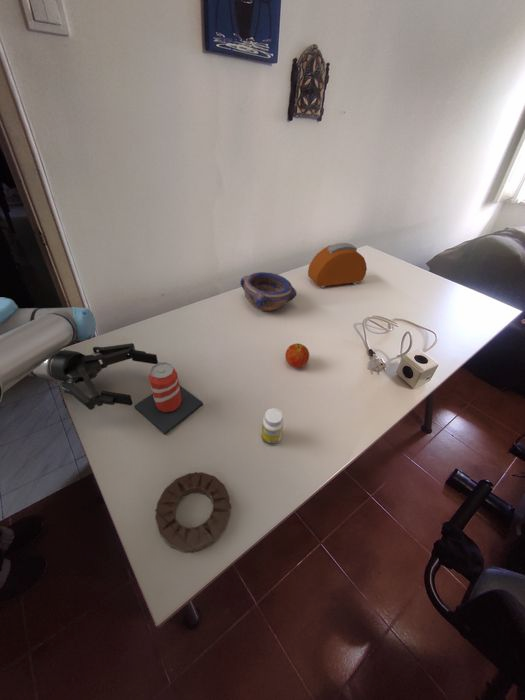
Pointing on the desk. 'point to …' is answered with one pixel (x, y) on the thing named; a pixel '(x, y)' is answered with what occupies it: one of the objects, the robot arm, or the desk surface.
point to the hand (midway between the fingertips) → (144, 378)
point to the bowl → (267, 290)
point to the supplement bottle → (272, 426)
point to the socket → (204, 533)
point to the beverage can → (165, 387)
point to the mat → (169, 419)
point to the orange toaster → (337, 265)
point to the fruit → (297, 355)
